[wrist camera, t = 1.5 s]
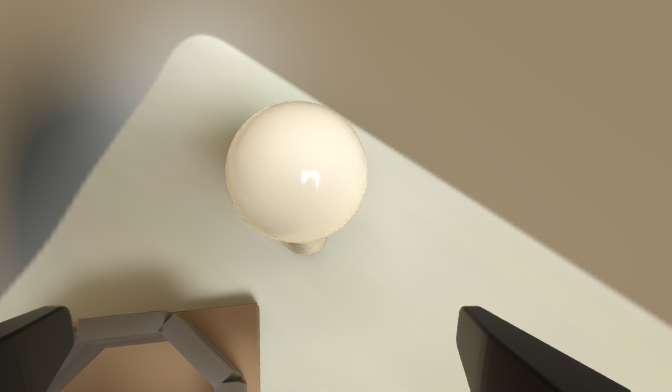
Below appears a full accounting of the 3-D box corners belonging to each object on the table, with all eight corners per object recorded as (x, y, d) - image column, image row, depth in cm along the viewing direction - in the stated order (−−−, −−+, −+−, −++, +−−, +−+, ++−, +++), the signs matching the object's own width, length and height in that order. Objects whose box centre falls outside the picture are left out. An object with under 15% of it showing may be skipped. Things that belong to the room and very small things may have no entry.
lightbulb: (254, 201, 25) (210, 74, 16) (347, 191, 26) (360, 63, 16) (257, 294, 22) (204, 209, 13) (363, 281, 23) (390, 190, 13)
